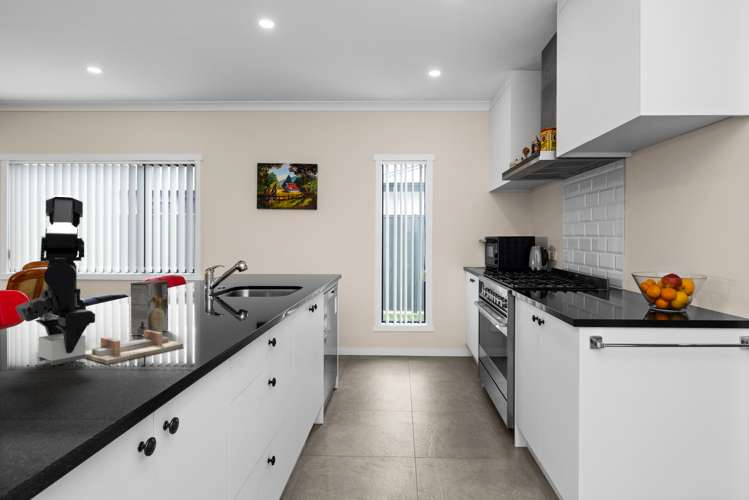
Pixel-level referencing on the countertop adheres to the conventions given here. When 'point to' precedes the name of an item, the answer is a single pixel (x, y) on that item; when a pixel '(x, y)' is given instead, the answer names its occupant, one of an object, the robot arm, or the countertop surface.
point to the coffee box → (149, 306)
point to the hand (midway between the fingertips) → (62, 350)
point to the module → (59, 349)
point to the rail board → (131, 348)
